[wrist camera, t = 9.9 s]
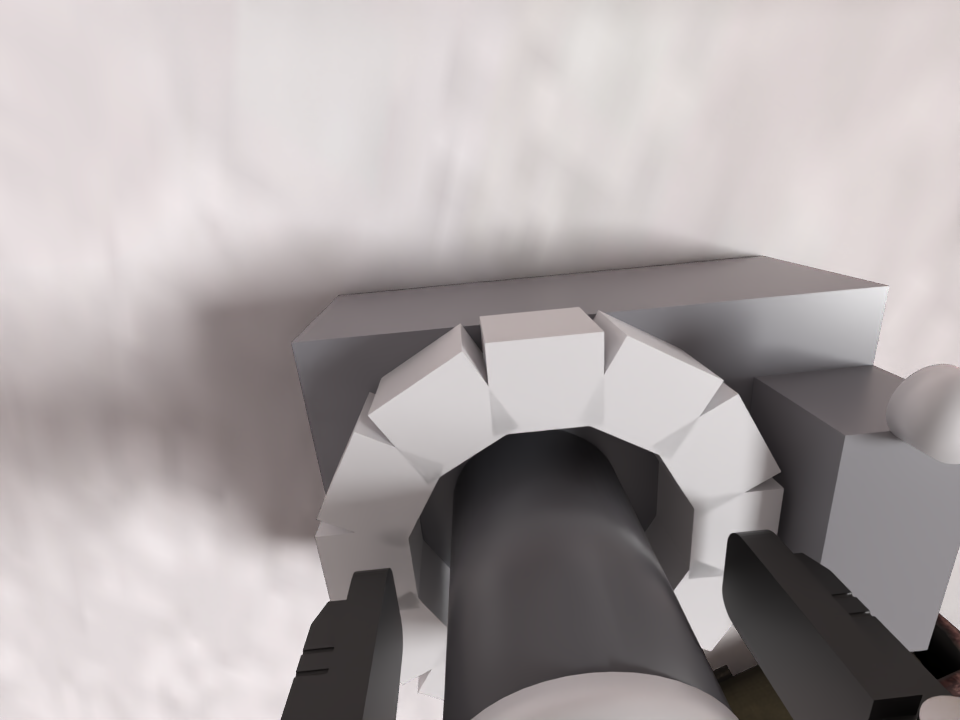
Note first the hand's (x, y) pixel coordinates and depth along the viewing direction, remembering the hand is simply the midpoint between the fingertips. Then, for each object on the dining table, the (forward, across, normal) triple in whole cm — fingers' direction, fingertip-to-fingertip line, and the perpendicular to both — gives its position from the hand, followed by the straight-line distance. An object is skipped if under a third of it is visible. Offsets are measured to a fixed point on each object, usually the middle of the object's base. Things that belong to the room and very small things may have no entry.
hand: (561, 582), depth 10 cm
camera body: (+8, -2, 0) cm, 8 cm away
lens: (+3, 0, 0) cm, 3 cm away
